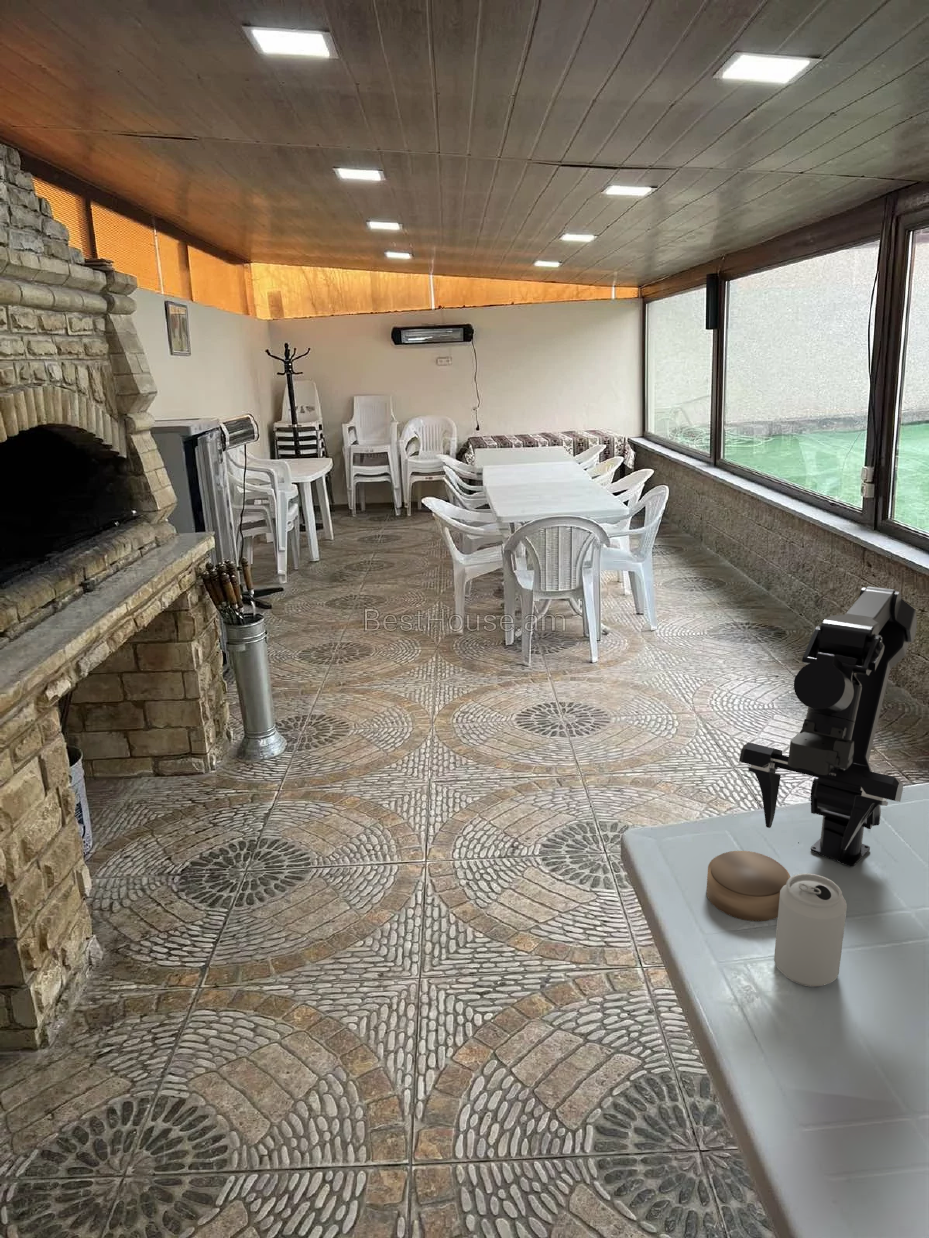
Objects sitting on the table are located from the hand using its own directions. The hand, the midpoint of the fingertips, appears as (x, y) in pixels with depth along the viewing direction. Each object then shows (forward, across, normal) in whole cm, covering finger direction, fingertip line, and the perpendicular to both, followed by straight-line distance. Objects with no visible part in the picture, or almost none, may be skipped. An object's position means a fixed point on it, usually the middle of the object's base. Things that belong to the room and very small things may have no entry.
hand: (805, 838), depth 108 cm
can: (+16, +3, +1) cm, 16 cm away
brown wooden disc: (+11, -8, +10) cm, 17 cm away
